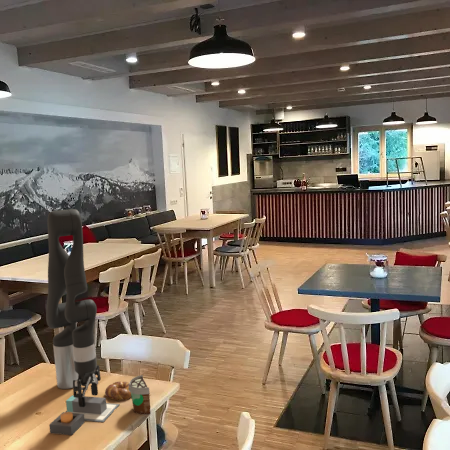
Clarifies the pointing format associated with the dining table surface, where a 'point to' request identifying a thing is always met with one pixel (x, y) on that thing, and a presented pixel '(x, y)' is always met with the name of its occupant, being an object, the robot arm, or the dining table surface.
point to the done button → (66, 417)
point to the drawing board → (102, 416)
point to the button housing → (67, 425)
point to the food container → (140, 395)
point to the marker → (87, 405)
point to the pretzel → (118, 391)
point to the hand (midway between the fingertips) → (88, 400)
